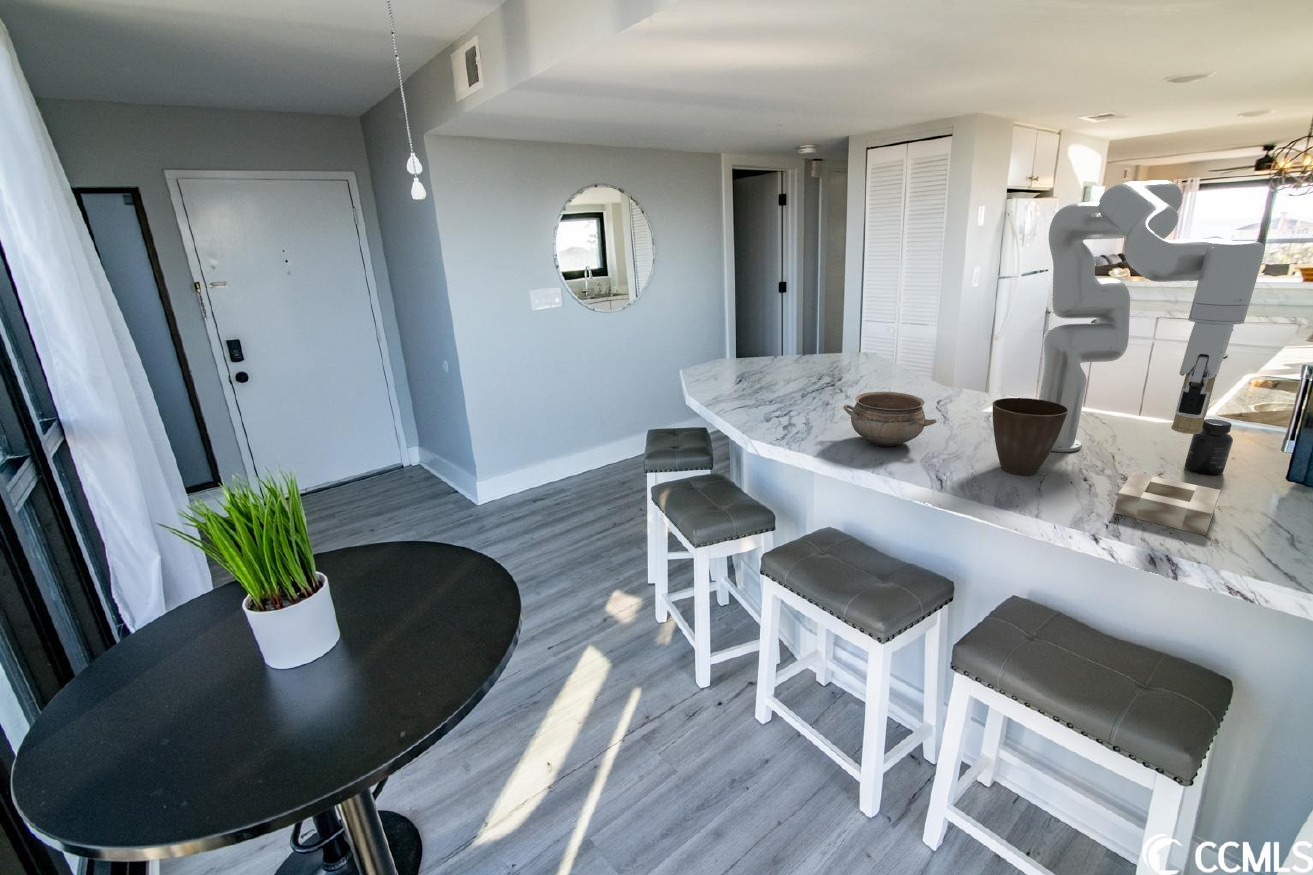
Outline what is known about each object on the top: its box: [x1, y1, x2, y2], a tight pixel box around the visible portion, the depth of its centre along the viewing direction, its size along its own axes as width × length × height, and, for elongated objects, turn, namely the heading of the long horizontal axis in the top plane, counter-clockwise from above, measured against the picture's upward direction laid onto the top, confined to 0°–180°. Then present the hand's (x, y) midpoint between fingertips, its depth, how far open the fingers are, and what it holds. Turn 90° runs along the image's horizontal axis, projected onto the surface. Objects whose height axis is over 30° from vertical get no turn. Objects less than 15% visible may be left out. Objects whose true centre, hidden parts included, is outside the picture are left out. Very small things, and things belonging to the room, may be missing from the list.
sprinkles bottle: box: [1170, 361, 1221, 435], centre depth 112 cm, size 5×5×14 cm
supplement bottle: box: [1184, 418, 1234, 477], centre depth 136 cm, size 7×7×12 cm
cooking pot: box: [843, 391, 938, 448], centre depth 161 cm, size 25×19×12 cm
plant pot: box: [992, 397, 1068, 476], centre depth 140 cm, size 15×15×16 cm
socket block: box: [1113, 471, 1221, 536], centre depth 119 cm, size 14×14×4 cm
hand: (1191, 409), depth 113 cm, fingers closed on sprinkles bottle, 4 cm apart
